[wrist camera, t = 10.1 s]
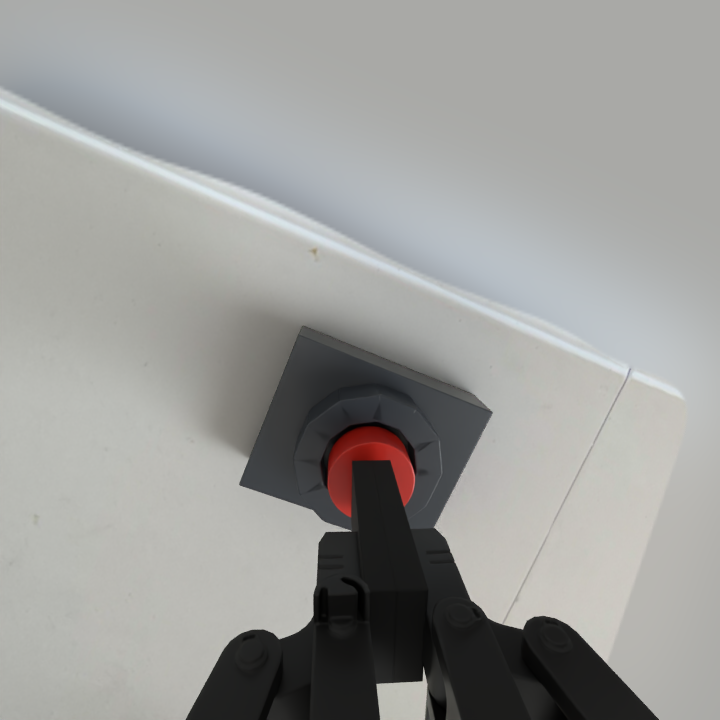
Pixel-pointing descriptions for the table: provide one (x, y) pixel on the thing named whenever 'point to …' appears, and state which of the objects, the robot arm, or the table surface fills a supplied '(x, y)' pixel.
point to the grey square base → (357, 409)
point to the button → (367, 447)
